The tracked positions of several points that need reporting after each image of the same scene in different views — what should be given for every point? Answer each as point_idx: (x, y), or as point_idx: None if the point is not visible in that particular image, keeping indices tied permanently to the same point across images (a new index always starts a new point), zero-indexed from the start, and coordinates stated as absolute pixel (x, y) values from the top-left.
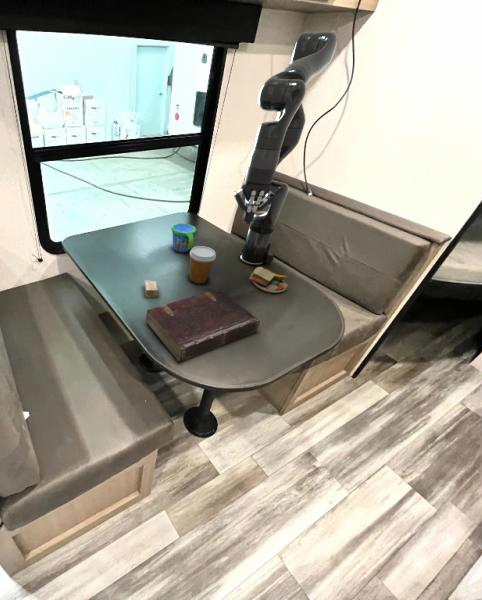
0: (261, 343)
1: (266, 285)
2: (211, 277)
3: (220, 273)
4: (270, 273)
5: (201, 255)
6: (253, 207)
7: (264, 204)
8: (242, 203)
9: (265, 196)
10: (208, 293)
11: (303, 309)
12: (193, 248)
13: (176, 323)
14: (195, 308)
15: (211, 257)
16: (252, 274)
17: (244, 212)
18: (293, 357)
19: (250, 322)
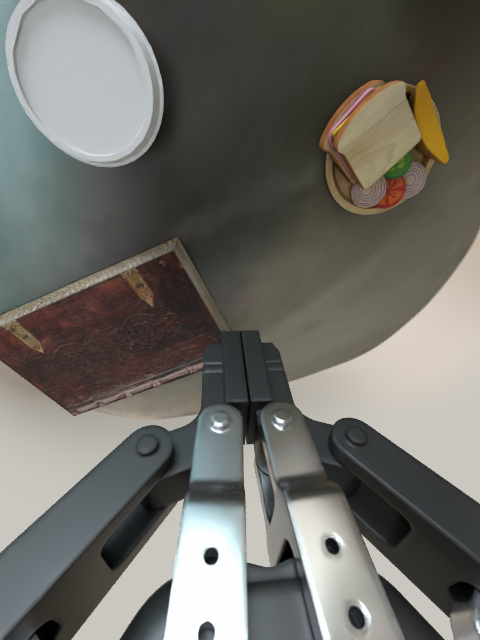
0: None
1: (355, 183)
2: (187, 83)
3: (234, 43)
4: (406, 134)
5: (76, 131)
6: (260, 497)
7: (378, 532)
8: (115, 562)
9: (470, 619)
10: (135, 275)
11: (384, 275)
12: (15, 31)
13: (55, 370)
14: (96, 330)
15: (130, 154)
16: (334, 136)
17: (201, 404)
18: None
19: None
